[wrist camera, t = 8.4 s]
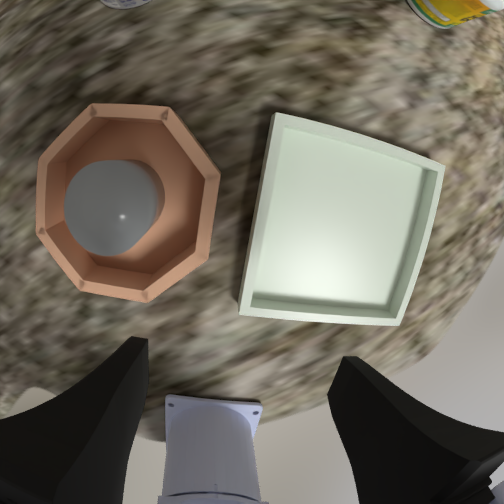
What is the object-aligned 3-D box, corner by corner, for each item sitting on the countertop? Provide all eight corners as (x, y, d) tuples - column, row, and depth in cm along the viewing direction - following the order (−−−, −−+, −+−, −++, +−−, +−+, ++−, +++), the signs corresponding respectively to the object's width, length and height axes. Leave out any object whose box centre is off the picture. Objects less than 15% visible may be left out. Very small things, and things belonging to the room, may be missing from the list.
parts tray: (390, 316, 21) (399, 325, 20) (237, 303, 20) (238, 314, 18) (432, 164, 18) (445, 165, 17) (271, 115, 16) (276, 112, 15)
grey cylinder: (161, 239, 17) (145, 261, 14) (93, 230, 17) (63, 249, 13) (169, 162, 16) (154, 164, 12) (98, 156, 15) (66, 158, 12)
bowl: (204, 287, 19) (201, 310, 16) (60, 264, 18) (39, 281, 15) (230, 121, 16) (231, 114, 13) (69, 110, 15) (46, 104, 12)
